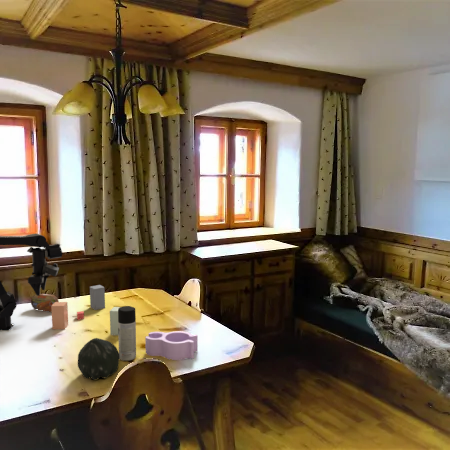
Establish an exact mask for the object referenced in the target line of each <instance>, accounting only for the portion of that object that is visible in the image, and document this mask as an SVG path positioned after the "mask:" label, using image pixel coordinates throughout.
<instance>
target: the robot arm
mask: <svg viewBox="0 0 450 450" xmlns="http://www.w3.org/2000/svg"><path fill="white" fill-rule="evenodd" d="M0 246H30V247H29V248H28V249H27V250H26V252H28V253H31V255H32V257H31V259H32V263H31V267H32V272H31V275H30V276H29V277H28V278H27V284H28V285H30V287H31V288H32V290H33V291H34V293H35V295H37V296H39V295H40V294H41V290H42V291H45V290H46V286H47V285H46V284H47V280H48V278H49V277H50V276H52V277H56V276H57V275H58V274H59V273H58V272H59V270H60V267H58V263H56V262H55V263H53V264H49V263H48V261H47V259H48V260H52V259H59V258H62V257H63V250H62V247H61V244H60V243H54V244H49V243H48V241H47V239H46V236H44V235H42V234H40V233H32V234H31V233H30V234H27V235H21V236H20V235H14V236H13V235H12V236H11V235H7V236H2V235H1V236H0ZM46 258H47V259H46ZM17 302H18V300H17V299H16V298H15V296H14V293H12V292H11V291H7V290H6V289H5V286H4V285H3V283H2V281H1V280H0V329H10V328H11V327H13V326H14V325H12V324H13V323H12V318H11V317H12V316H13V314H14V311H15V310H16V308H17V305H18V304H17ZM10 330H11V329H10Z"/></svg>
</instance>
